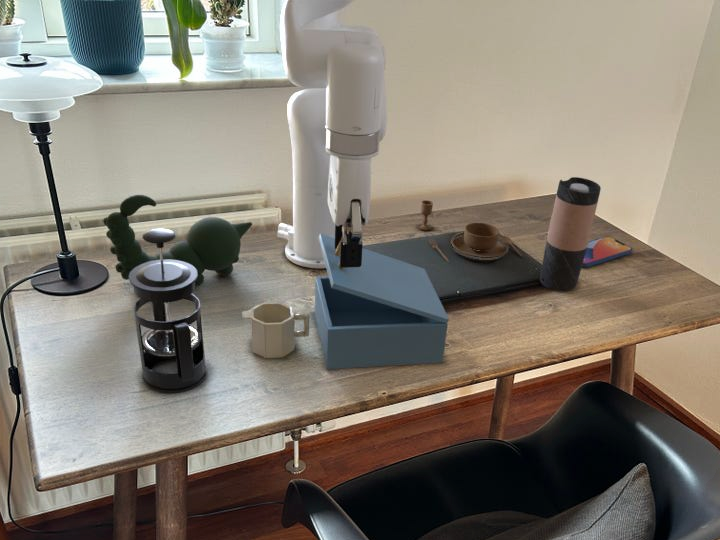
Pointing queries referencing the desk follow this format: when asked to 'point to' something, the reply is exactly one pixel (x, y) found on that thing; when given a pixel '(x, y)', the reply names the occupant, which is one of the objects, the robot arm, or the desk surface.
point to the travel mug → (569, 233)
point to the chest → (373, 331)
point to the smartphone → (604, 250)
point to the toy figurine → (200, 249)
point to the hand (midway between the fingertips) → (347, 256)
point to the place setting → (472, 238)
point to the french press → (168, 337)
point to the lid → (383, 281)
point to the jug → (274, 329)
